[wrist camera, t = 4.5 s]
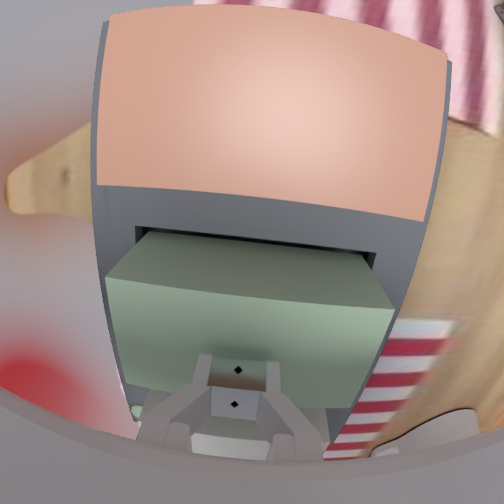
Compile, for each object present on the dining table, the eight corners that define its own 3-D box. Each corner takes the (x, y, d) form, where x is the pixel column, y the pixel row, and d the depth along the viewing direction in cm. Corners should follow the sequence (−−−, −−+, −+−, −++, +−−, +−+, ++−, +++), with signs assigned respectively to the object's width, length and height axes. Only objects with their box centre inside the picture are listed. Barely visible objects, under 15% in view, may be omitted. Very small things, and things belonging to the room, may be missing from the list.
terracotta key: (376, 189, 14) (423, 221, 9) (149, 163, 14) (97, 185, 9) (392, 71, 11) (447, 53, 7) (159, 44, 11) (110, 14, 7)
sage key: (335, 344, 17) (349, 407, 13) (154, 324, 17) (126, 383, 13) (361, 254, 15) (394, 309, 10) (149, 230, 15) (104, 277, 10)
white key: (302, 428, 21) (305, 480, 17) (167, 413, 21) (152, 462, 17) (321, 382, 19) (330, 442, 14) (159, 363, 19) (137, 420, 14)
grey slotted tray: (327, 405, 25) (333, 446, 21) (147, 384, 25) (132, 423, 21) (414, 71, 14) (454, 61, 10) (137, 40, 14) (100, 20, 10)
